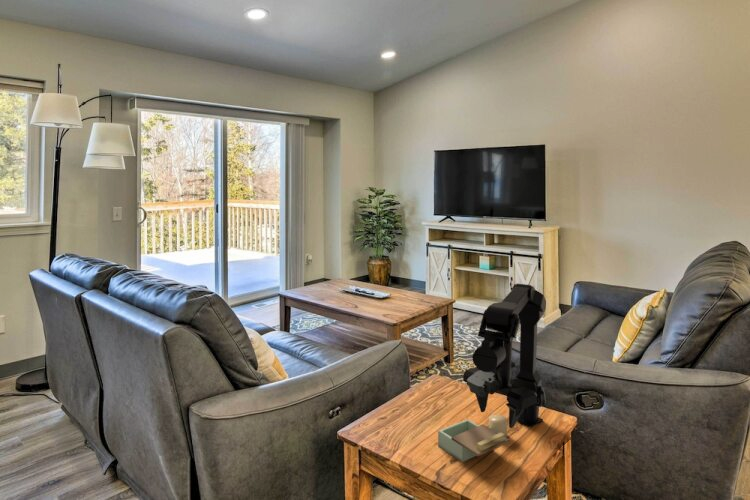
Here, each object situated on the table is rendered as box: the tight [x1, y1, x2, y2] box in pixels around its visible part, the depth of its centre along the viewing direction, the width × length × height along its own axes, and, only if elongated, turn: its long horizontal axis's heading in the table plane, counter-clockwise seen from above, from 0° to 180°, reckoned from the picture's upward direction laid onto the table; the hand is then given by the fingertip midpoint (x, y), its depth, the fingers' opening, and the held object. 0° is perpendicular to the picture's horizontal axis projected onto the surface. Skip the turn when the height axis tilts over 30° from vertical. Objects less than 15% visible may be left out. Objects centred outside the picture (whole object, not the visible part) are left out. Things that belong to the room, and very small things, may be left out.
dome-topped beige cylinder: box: [488, 414, 509, 438], centre depth 128 cm, size 5×5×5 cm
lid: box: [452, 423, 511, 457], centre depth 117 cm, size 12×9×2 cm
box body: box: [437, 419, 480, 463], centre depth 122 cm, size 11×9×4 cm
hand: (496, 419), depth 111 cm, fingers open, 9 cm apart
